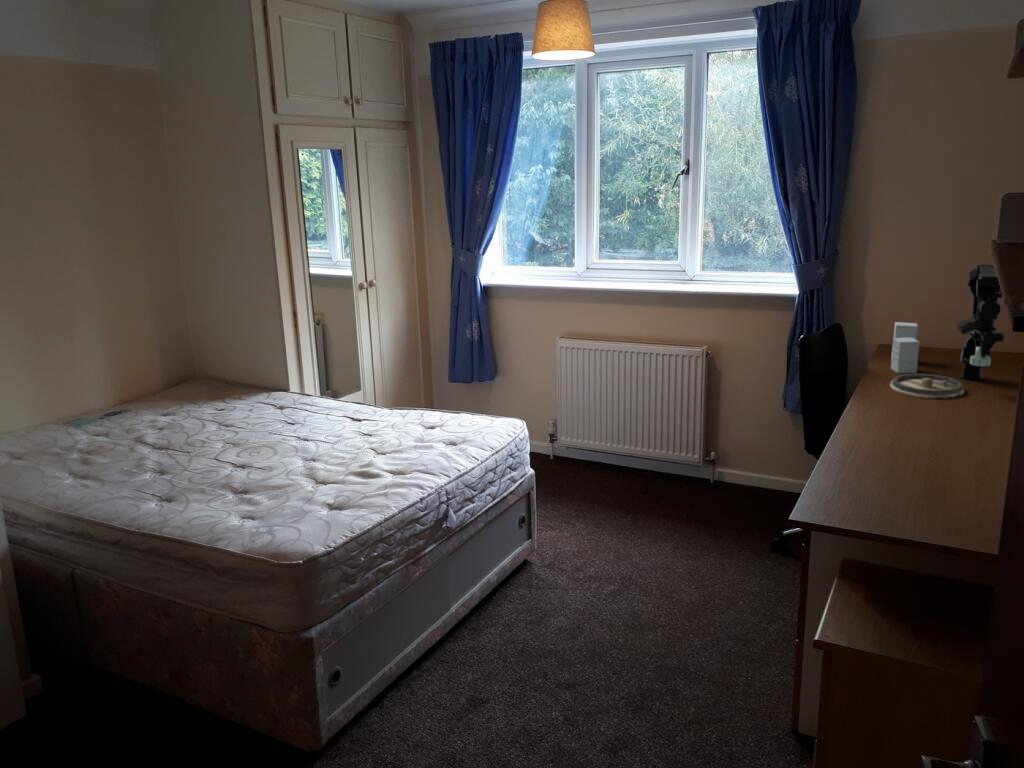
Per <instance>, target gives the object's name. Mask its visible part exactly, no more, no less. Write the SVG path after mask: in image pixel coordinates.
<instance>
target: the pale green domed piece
mask: <svg viewBox="0 0 1024 768" xmlns="http://www.w3.org/2000/svg"><path fill="white" fill-rule="evenodd" d="M991 361H992V356H990V357H989V356H987V355H986V356H985V357H981V346H977V347H976V351H975V355H972V356H970V364H971V365H975V366H982V367H989V366H991Z"/></svg>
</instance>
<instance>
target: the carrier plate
mask: <svg viewBox="0 0 1024 768" xmlns="http://www.w3.org/2000/svg"><path fill="white" fill-rule="evenodd" d="M890 387H891V388H890ZM889 388H890V389H891V390H892V389H893V390H892V391H894V392H896V393H898V392H899V394H901V393H902V395H904V394H905V395H906V396H909V395H910V397H914V396H915V398H921V397H922V398H923V399H935V398H942V399H949V398H948V397H953V398H956V397H955V396H958V397H960V396H962V395H963V394H964V393H965V387H964V386H963V385H962V382H961V381H959V380H957V379H956V378H953V377H950V376H945V375H938V374H933V373H932V374H931V373H929V374H928V373H902V374H900V375H897V376H894V377H893V378H892V380H891V381H890V382H889ZM959 395H960V396H959Z"/></svg>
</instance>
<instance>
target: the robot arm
mask: <svg viewBox="0 0 1024 768" xmlns="http://www.w3.org/2000/svg"><path fill="white" fill-rule="evenodd" d="M997 275H998V274H996V271H994V265H992V264H977V265H976V267H975V268H974V269H973V270H971V271H970V272H969V274H968V276H967V281H966V283H967V286H966V287H968V293H969V294H970V296H971V297H972V303H971V304H972V305H971V307H972V309H971V318H968V319H966V320H962V321H959V322H957V323H956V327H957V331H958V333H960V334H962V335H965V334H968V335H969V337H968V339H966V341H965V342H964V346H962V349H961V353H960V363H962V364H963V365H964V367H963V374H961V375H958V378H960V379H964V380H969V381H972V382H973V381H975V382H978V381H980V380H983V379H985V378H986V377H985V376H983V375H982V370H983V369H982V368H983V366H975V365H971V364H970V356H972V355H975V351H976V347H977V346H981V357H985V356H986V355H987V356H989V357H991V353H992V351H990V350H991V349H992V348H993V346H994V345H995V344H996V343H997V342H998V343H999V342H1002V343H1003V342H1004V340H1005V335H1004V334H1003V333H1001V332H1000V331H998V330H997V327H996V326H995V321H996V320H998V317H999V316H998V315H1000V313H1001V306H1000V303H999V302H998V298H999V299H1000V298H1001V299H1003V298H1002V293H1001V289H1000V285H999V281H998V278H997Z"/></svg>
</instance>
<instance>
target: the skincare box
mask: <svg viewBox="0 0 1024 768" xmlns="http://www.w3.org/2000/svg"><path fill="white" fill-rule="evenodd" d="M918 325H919V324H918V323H917V322H902V321H896V322H894V329H893V338H910V337H912V338H914V339H916V340H917V338H918V337H917V336H918V329H919V326H918ZM892 349H893V345H892V346H891V350H892ZM890 360H891V361H892V354H891V357H890Z"/></svg>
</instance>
